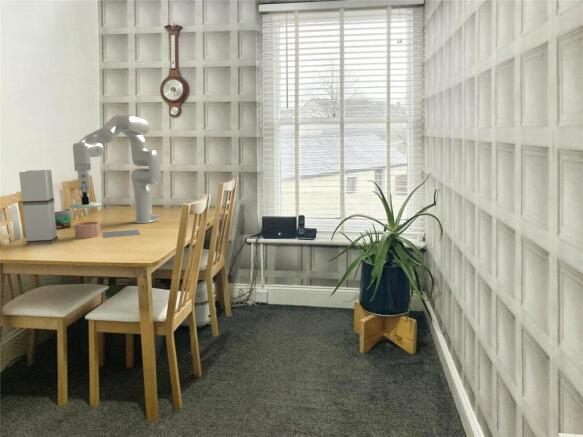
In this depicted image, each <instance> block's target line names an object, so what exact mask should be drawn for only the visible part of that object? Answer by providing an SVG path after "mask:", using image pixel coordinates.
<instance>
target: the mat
mask: <svg viewBox="0 0 583 437" xmlns="http://www.w3.org/2000/svg"><path fill="white" fill-rule="evenodd" d="M140 235H141V232H140V231H139V229H128V230H115V231H113V230H112V231H104V232H102V238H103V239H104V238H107V239H108V238H119V237H128V236H129V237H130V236H140Z"/></svg>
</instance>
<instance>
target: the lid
mask: <svg viewBox="0 0 583 437" xmlns="http://www.w3.org/2000/svg"><path fill="white" fill-rule="evenodd" d="M88 197H89V204H87V205H82V193H81V194H80V200H81V201H80V202H76V203H72V204H71V203H70V204H69V209H88V208H89V209H90V208H98V207H101V206H102V205H103V203H102V202H96V201H90V199H91V198H90V193H88Z"/></svg>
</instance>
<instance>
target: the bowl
mask: <svg viewBox="0 0 583 437" xmlns="http://www.w3.org/2000/svg"><path fill="white" fill-rule="evenodd" d="M74 233H75V234H74V235H75V238H76V239H93V238H98V237H100V236H102V235H101V233H102V232H101V222H100V221H81V222H77V223H75V224H74Z"/></svg>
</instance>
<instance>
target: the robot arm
mask: <svg viewBox="0 0 583 437" xmlns="http://www.w3.org/2000/svg"><path fill="white" fill-rule="evenodd" d="M149 130H150V125H149V123H148V121H147V120H145V119H144V118H140V117H137V116H134V115H131V114H125V115H124V114H122V115H120V114H119V115H114V116H113V117H111V118H110V119H109V120H108V121H107V122H106V123H105V124H104V125H103V126H102V127H100V128H99V129H97V130H94V131H93V132H91V133H89V134H87V135H85V136H84V137H83V138H81V139H80V140H79V141H78V142H75V143H73V144H72V152H73V165H74V171H75V172H77V179H78V180H77V181H78V186H79V190H80V191H81V194H82V205H87V204H89V198H90V196H89V197H88V194H89V192H88V191H91V178H90V172H91V171H92V168H91V158H96V157H101V156H102V155H103V154H104V151H105V147H104V144H108V143H111V142H112V141H114V140H115V139H116V138H117V137H118V136H119V135H120V134H121V133H122V134H123V135H125V137H126V138H127V139H128V140H129V142H130V148H131V149H130V151H131V159H132V163H133V165H134V166H137V167H146V168H135V169H133V170H132V171H131V174H130V179H131V183H132V187H133V193H134V196H133V197H134V208H135V209H134V210H135V211H134V212H135V219H133V223H134V224H147V223H154V222H156V219H157V218H158V219H160V218H161V214H154V213H153V206H152V191H151V189H150V187H149V185H150V186H151V185H152V186H156V185H158V184H160V182H161V179H162V170H161V160H160V155H159V153H158V151H157V150H154V149H148V148H147V144H146V139H145V137H144V136H145V135H147V134H148V133H149V132H150V131H149Z"/></svg>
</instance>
